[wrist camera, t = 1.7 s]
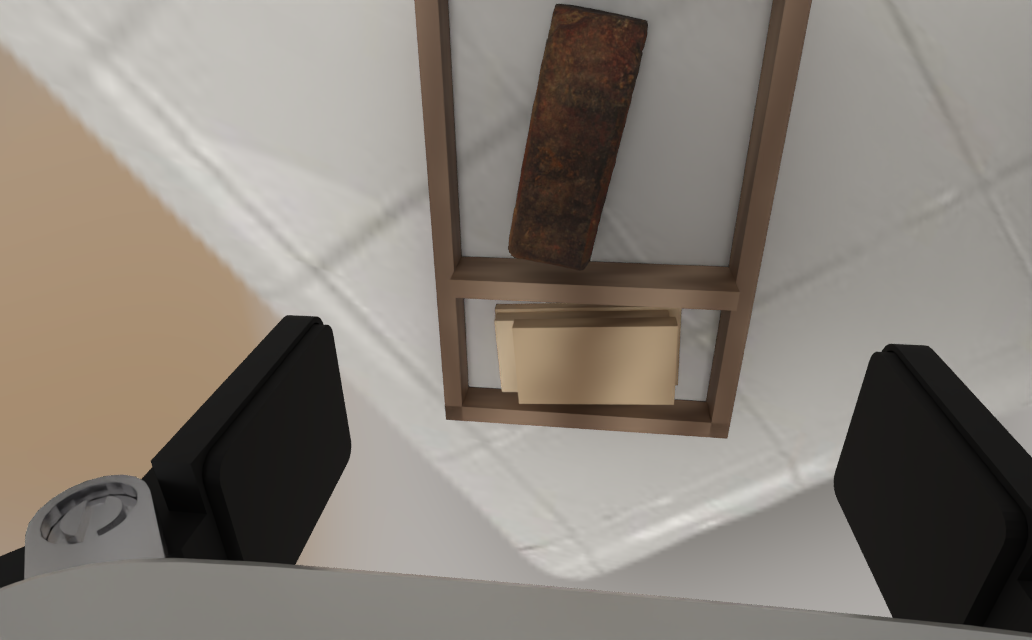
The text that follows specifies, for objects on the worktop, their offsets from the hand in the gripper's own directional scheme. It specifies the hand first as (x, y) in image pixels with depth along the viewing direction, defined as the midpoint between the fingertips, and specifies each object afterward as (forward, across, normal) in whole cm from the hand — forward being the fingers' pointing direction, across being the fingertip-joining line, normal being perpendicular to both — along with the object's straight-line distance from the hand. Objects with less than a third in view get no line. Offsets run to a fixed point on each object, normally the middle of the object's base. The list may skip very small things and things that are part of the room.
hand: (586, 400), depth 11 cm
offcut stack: (+22, 0, +11) cm, 25 cm away
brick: (+22, +1, 0) cm, 22 cm away
